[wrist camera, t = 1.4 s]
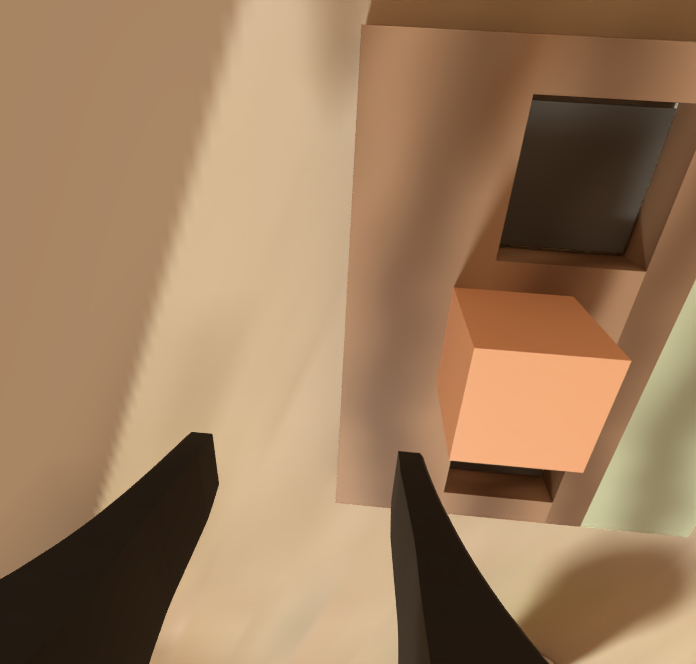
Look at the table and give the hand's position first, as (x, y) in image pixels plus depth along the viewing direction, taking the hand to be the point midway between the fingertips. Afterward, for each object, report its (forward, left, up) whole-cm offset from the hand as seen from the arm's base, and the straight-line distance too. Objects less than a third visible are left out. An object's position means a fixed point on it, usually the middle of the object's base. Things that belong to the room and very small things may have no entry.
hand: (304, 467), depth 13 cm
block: (-8, 0, -8) cm, 11 cm away
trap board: (-11, 0, -10) cm, 15 cm away
